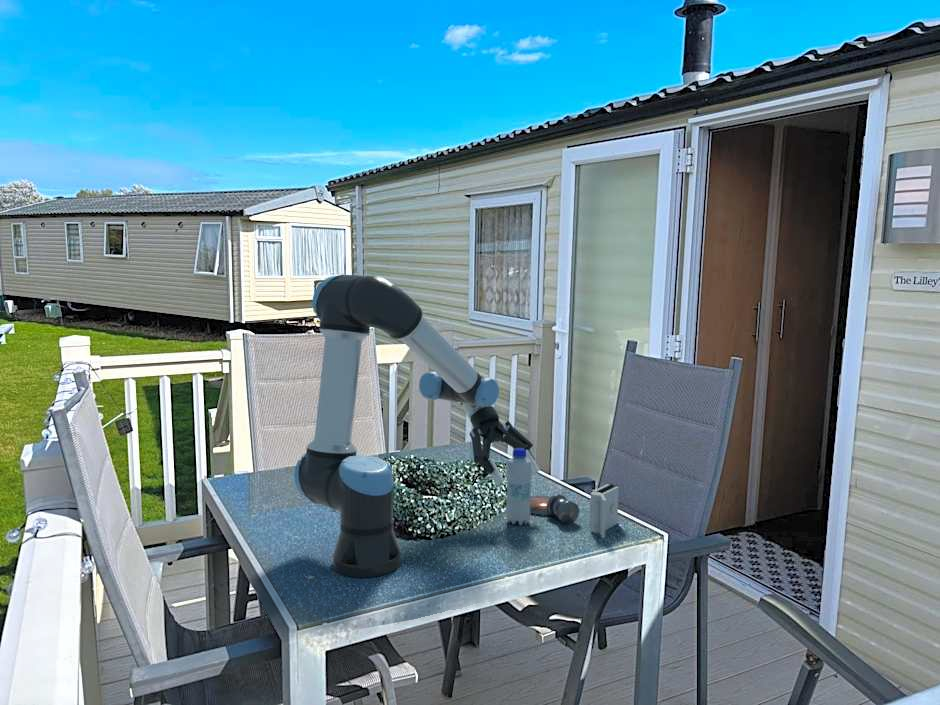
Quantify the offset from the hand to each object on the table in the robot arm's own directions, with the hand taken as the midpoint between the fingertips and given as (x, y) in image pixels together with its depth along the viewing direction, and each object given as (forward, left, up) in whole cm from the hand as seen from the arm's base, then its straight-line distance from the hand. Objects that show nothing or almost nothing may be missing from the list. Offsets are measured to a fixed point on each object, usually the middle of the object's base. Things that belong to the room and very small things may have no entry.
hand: (518, 477), depth 179 cm
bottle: (-1, +1, -12) cm, 12 cm away
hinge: (-13, -18, -12) cm, 26 cm away
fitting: (+3, -11, -12) cm, 17 cm away
